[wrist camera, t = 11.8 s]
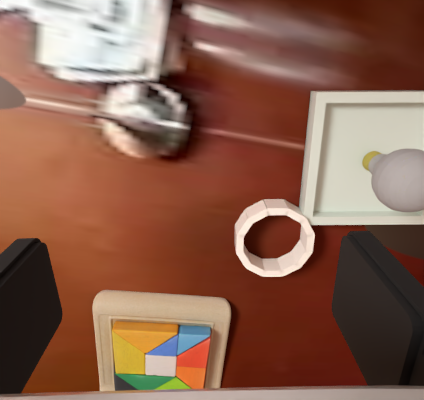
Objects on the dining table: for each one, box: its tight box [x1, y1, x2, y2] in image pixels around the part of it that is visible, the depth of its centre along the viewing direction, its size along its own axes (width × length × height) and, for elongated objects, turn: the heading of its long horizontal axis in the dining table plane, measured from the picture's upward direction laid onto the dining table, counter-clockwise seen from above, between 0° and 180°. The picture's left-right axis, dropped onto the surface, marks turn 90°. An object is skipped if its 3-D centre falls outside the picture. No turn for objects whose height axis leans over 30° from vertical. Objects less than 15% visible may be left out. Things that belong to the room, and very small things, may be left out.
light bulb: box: [362, 149, 424, 212], centre depth 31 cm, size 6×6×10 cm
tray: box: [299, 90, 424, 225], centre depth 35 cm, size 14×14×2 cm
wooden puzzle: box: [93, 290, 231, 391], centre depth 45 cm, size 17×19×4 cm
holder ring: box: [235, 199, 315, 277], centre depth 38 cm, size 9×9×3 cm
